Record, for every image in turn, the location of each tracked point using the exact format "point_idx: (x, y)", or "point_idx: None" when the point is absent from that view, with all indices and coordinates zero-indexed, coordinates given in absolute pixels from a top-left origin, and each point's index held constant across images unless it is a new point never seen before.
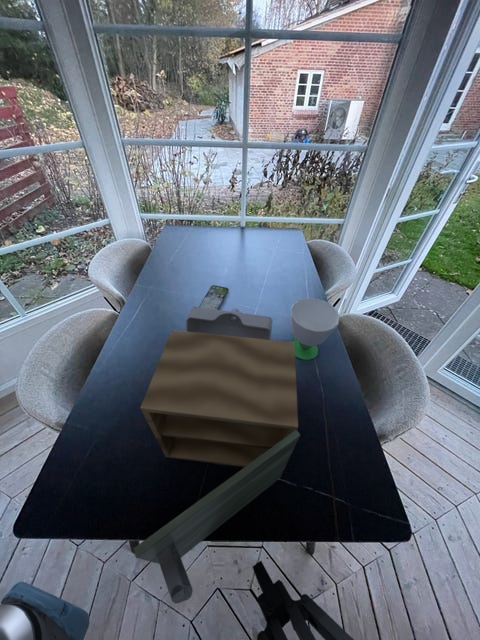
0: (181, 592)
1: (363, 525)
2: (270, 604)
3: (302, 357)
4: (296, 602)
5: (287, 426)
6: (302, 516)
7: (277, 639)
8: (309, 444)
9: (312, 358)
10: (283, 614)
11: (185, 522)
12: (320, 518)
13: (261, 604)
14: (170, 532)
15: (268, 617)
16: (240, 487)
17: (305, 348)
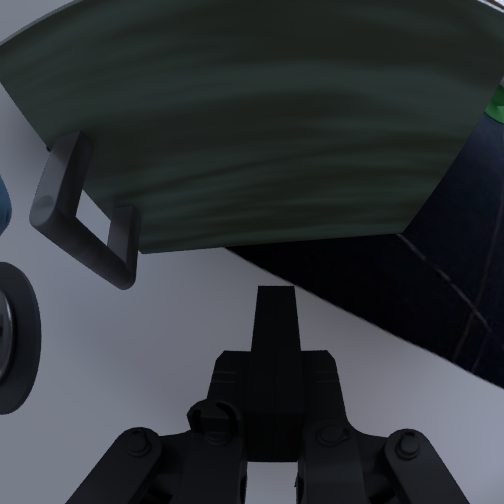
0: (46, 211)
1: (492, 367)
2: (246, 390)
3: (487, 112)
4: (360, 439)
5: (492, 3)
6: (412, 310)
7: (187, 500)
8: (470, 215)
9: (501, 121)
10: (282, 441)
11: (92, 13)
12: (440, 328)
13: (220, 372)
14: (49, 21)
15: (201, 419)
16: (314, 54)
17: (495, 100)
